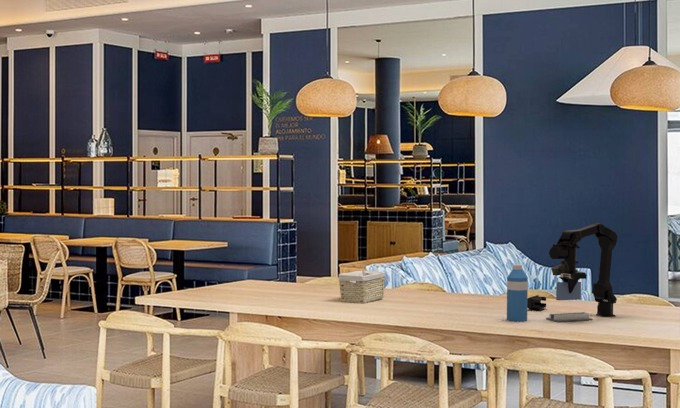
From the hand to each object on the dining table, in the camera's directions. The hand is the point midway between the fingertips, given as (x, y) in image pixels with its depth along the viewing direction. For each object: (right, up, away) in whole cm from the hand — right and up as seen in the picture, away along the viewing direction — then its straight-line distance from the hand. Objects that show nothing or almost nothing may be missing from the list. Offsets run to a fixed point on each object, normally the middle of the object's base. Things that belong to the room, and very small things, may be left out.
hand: (569, 292), depth 426 cm
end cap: (-8, -12, +33) cm, 36 cm away
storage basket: (-92, -11, +66) cm, 114 cm away
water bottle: (-24, -12, -2) cm, 27 cm away
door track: (0, -12, 0) cm, 12 cm away
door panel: (0, -3, 0) cm, 3 cm away
